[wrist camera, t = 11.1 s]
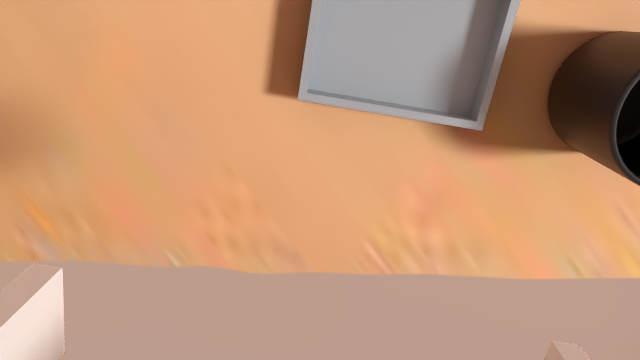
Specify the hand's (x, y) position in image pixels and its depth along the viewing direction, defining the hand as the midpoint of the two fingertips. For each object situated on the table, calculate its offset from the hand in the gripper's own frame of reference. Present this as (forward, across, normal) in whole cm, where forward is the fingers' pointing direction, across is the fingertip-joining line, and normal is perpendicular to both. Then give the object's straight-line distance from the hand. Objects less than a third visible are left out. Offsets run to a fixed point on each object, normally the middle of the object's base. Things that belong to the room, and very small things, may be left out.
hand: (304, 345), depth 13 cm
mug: (+27, +23, +6) cm, 36 cm away
